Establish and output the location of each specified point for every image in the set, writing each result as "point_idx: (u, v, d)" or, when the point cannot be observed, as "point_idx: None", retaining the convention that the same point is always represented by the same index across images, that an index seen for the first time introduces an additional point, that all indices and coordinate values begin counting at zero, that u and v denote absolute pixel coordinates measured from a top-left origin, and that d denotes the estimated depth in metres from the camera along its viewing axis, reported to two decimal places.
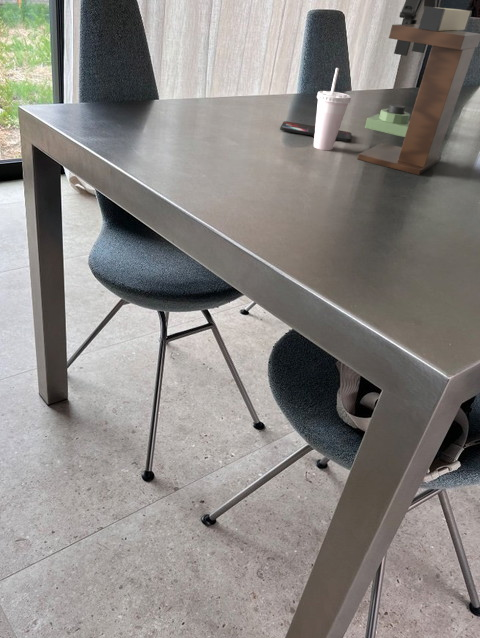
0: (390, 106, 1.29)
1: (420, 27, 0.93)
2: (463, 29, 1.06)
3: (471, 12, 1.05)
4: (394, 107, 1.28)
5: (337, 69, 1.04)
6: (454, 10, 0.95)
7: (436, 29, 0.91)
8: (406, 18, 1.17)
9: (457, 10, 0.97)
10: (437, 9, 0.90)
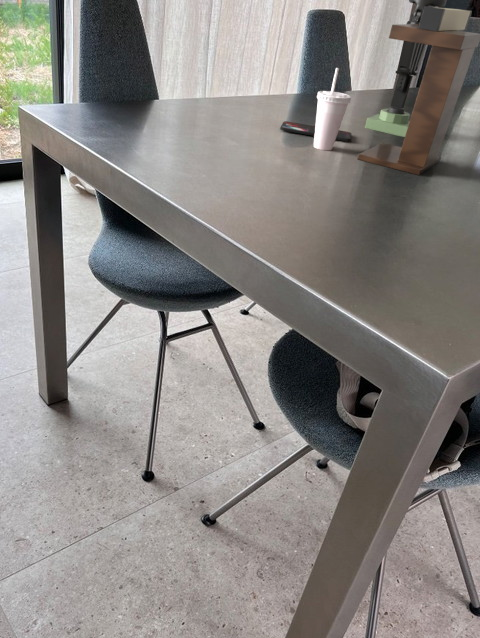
0: (389, 108, 1.29)
1: (420, 27, 0.93)
2: (463, 29, 1.06)
3: (471, 12, 1.05)
4: (393, 109, 1.28)
5: (337, 69, 1.04)
6: (454, 10, 0.95)
7: (436, 29, 0.91)
8: (402, 74, 1.24)
9: (457, 10, 0.97)
10: (437, 9, 0.90)
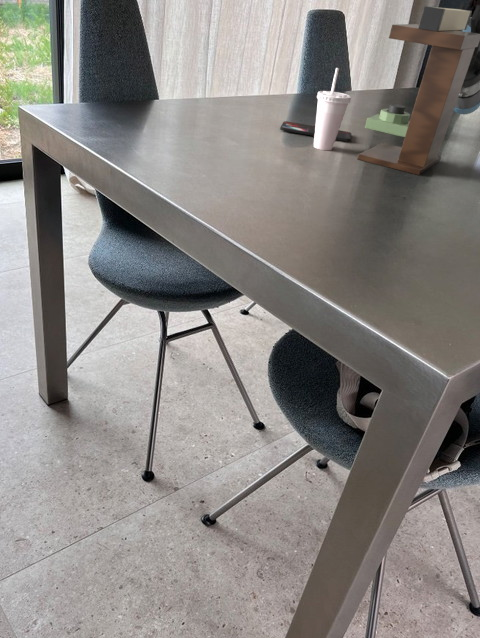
0: (390, 106, 1.29)
1: (420, 27, 0.93)
2: (463, 29, 1.06)
3: (471, 12, 1.05)
4: (394, 107, 1.28)
5: (337, 69, 1.04)
6: (454, 10, 0.95)
7: (436, 29, 0.91)
8: None
9: (457, 10, 0.97)
10: (437, 9, 0.90)
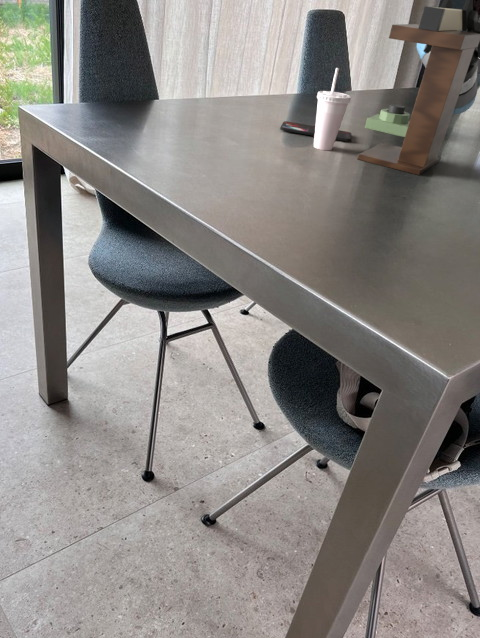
0: (390, 106, 1.29)
1: (420, 27, 0.93)
2: None
3: None
4: (394, 107, 1.28)
5: (337, 69, 1.04)
6: (454, 10, 0.95)
7: (436, 29, 0.91)
8: None
9: (457, 10, 0.97)
10: (437, 9, 0.90)
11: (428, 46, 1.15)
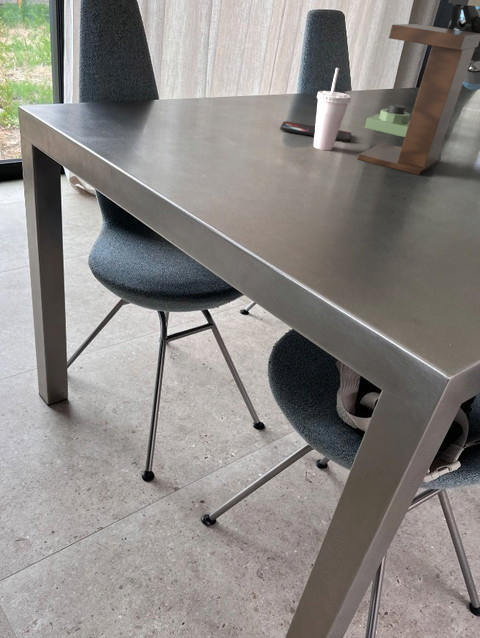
0: (390, 106, 1.29)
1: (450, 2, 1.01)
2: None
3: None
4: (394, 107, 1.28)
5: (337, 69, 1.04)
6: None
7: (465, 3, 1.00)
8: None
9: None
10: None
11: (452, 23, 1.23)
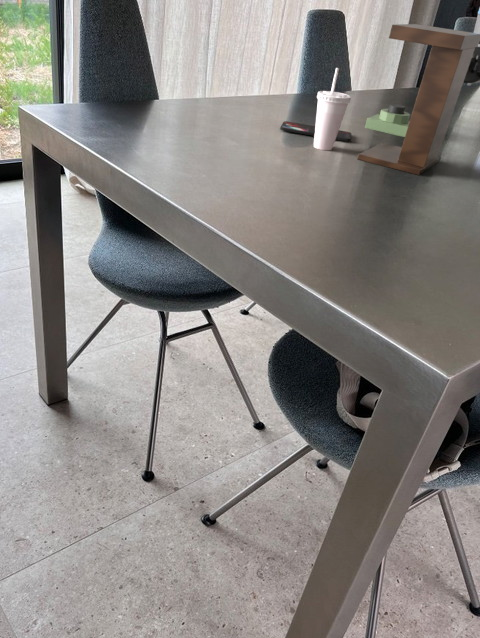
0: (390, 106, 1.29)
1: None
2: None
3: (473, 55, 1.20)
4: (394, 107, 1.28)
5: (337, 69, 1.04)
6: None
7: None
8: None
9: None
10: None
11: None
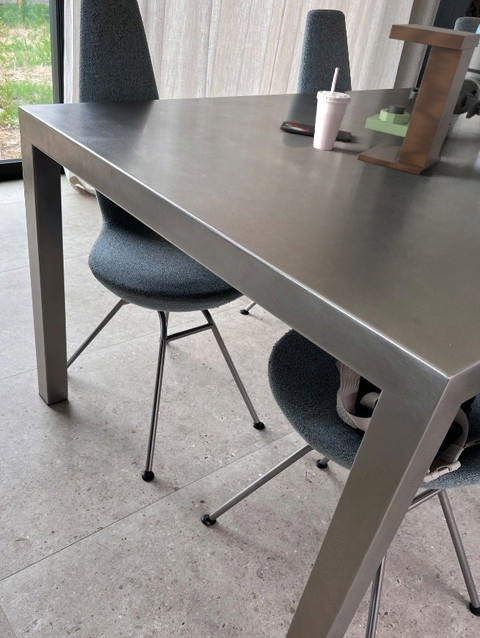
0: (390, 106, 1.29)
1: None
2: None
3: None
4: (394, 107, 1.28)
5: (337, 69, 1.04)
6: None
7: None
8: None
9: None
10: None
11: None
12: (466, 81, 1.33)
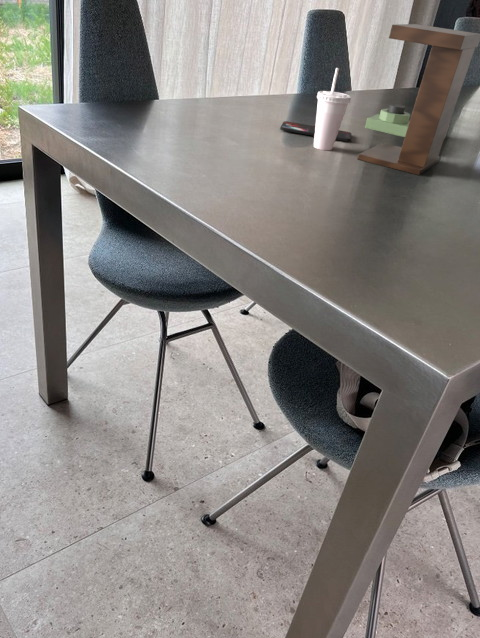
0: (390, 106, 1.29)
1: None
2: None
3: None
4: (394, 107, 1.28)
5: (337, 69, 1.04)
6: None
7: None
8: None
9: None
10: None
11: None
12: None
